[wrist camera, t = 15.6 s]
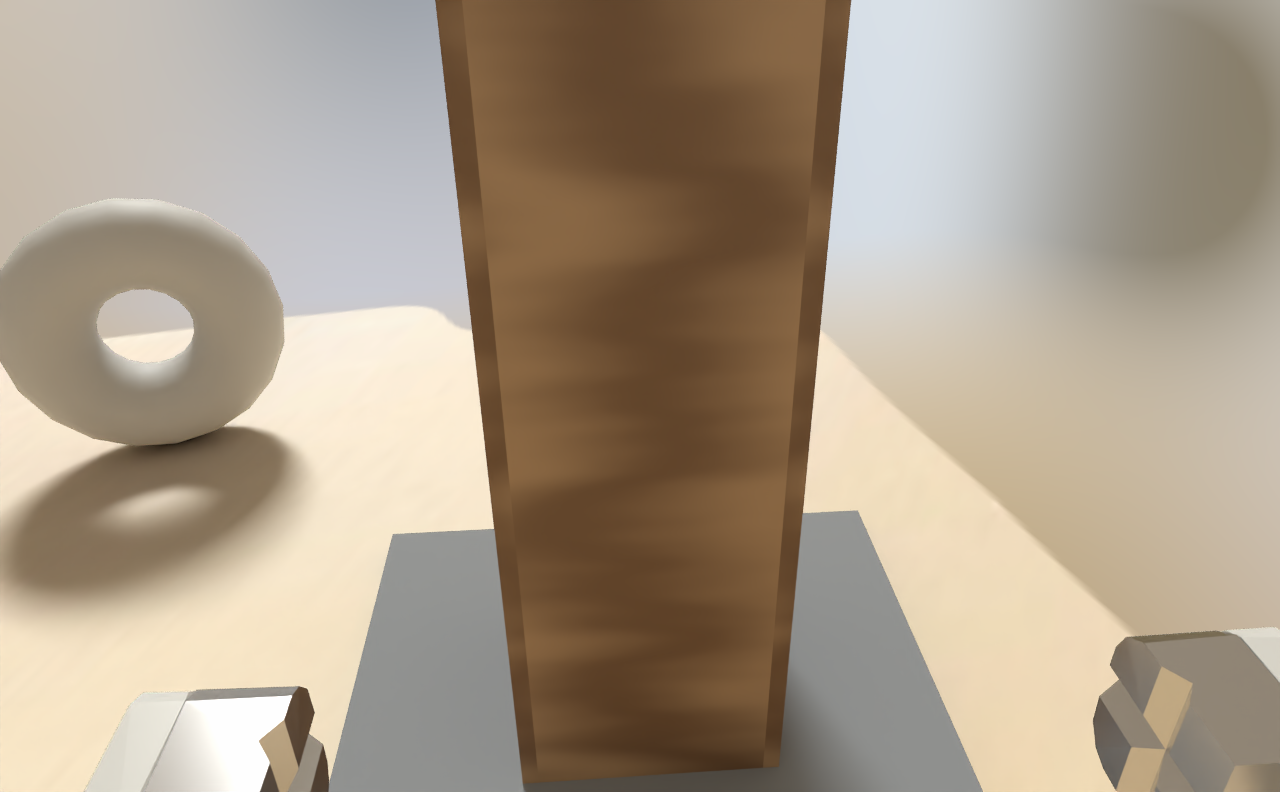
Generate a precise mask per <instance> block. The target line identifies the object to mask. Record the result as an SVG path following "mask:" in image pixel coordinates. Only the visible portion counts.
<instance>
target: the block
mask: <svg viewBox="0 0 1280 792" xmlns="http://www.w3.org/2000/svg"><path fill="white" fill-rule="evenodd" d="M435 1H436V10H437V19H438V28H439V37H440V46H441V55H442V64H443V73H444V82H445V91H446V99H447V109H448V117H449V127H450V136H451V145H452V153H453V163H454V172H455V181H456V189H457V198H458V208H459V216H460V226H461V234H462V244H463V252H464V261H465V270H466V279H467V288H468V297H469V306H470V315H471V324H472V333H473V342H474V351H475V360H476V369H477V378H478V387H479V396H480V405H481V414H482V423H483V432H484V441H485V450H486V459H487V468H488V477H489V486H490V495H491V504H492V513H493V522H494V531H495V540H496V549H497V558H498V567H499V576H500V584H501V593H502V602H503V611H504V620H505V629H506V638H507V647H508V656H509V665H510V674H511V683H512V692H513V701H514V710H515V719H516V728H517V737H518V746H519V755H520V764H521V773H522V782H523V784H525V783H540V782H555V781H571V780H586V779H601V778H616V777H631V776H646V775H661V774H677V773H692V772H707V771H722V770H737V769H752V768H767V767H779V759H780V749H781V738H782V728H783V717H784V706H785V696H786V685H787V675H788V664H789V653H790V643H791V632H792V622H793V611H794V600H795V590H796V579H797V569H798V558H799V547H800V537H801V526H802V515H803V505H804V494H805V484H806V473H807V462H808V452H809V441H810V431H811V420H812V409H813V399H814V388H815V378H816V367H817V356H818V346H819V335H820V325H821V314H822V303H823V291H824V281H825V272H826V260H827V250H828V240H829V228H830V218H831V208H832V197H833V187H834V176H835V165H836V154H837V143H838V134H839V122H840V112H841V102H842V91H843V80H844V70H845V59H846V47H847V38H848V28H849V17H850V5H851V0H435Z"/></svg>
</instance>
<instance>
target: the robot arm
mask: <svg viewBox="0 0 1280 792" xmlns="http://www.w3.org/2000/svg"><path fill="white" fill-rule="evenodd" d="M1110 666H1111V667H1112V669H1113V671H1114V672H1115V674H1116V675H1117V677H1118V678H1119V680H1118V681H1117V682H1116V683H1115V684H1113V685H1112V686H1111V687H1110V688H1109V689H1108V690H1106V691H1105V692H1104V693H1103V694H1102V695H1100V696H1099V700H1098V704H1097V707H1096V711H1095V715H1094V718H1093V725H1094V735H1095V745H1096V749H1097V752H1098V755H1099V758H1100V760H1101V763H1102V766H1103V769H1104V770H1105V772H1106V774H1107V776H1108V777H1109V779H1110V781H1111V783H1112V784H1113V786H1114V788H1115V790H1116V791H1117V792H1280V630H1279V629H1277V628H1275V627H1269V628H1255V629H1239V630H1226V631H1222V632H1219V631H1206V632H1191V633H1178V634H1163V635H1148V636H1134V637H1126V638H1125V639H1124V640H1123V641H1122V642H1121V643H1120V644H1119V645H1117V646H1116V649H1115V652H1114V655H1113V657H1112V660H1111V663H1110ZM314 713H315V712H314V709H313V706H312V703H311V699H310V696H309V693H308V690H307V689H306V688H303V687H299V686H296V687H266V688H237V689H207V690H196V691H175V692H146V693H142V694H141V695H140V696H139V697H138V698H137V699H135V700H134V701H133V702H132V703H131V704H130V705H129V706H128V708H127V710H126V712H125V714H124V715H123V717H122V719H121V721H120V723H119V725H118V727H117V729H116V731H115V733H114V735H113V736H112V738H111V740H110V742H109V744H108V746H107V748H106V750H105V752H104V754H103V756H102V758H101V759H100V761H99V763H98V765H97V767H96V769H95V771H94V773H93V775H92V777H91V779H90V780H89V782H88V784H87V786H86V788H85V790H84V792H329V777H328V764H327V759H326V755H325V750H324V746H323V744H322V743H321V742H319V741H318V740H317V739H315V738H314V737H313V736H311V735H310V734H309V731H310V727H311V724H312V720H313V717H314Z"/></svg>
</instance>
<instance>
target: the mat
mask: <svg viewBox="0 0 1280 792" xmlns="http://www.w3.org/2000/svg"><path fill="white" fill-rule="evenodd" d="M329 792H983V791H982V788H981V786H980V784H979V782H978V780H977V777H976V775H975V773H974V771H973V768H972V766H971V764H970V762H969V759H968V757H967V755H966V753H965V750H964V748H963V746H962V744H961V741H960V739H959V737H958V735H957V732H956V730H955V728H954V726H953V723H952V721H951V719H950V717H949V714H948V712H947V710H946V708H945V705H944V703H943V701H942V699H941V697H940V694H939V692H938V690H937V688H936V685H935V683H934V681H933V679H932V676H931V674H930V672H929V670H928V667H927V665H926V663H925V661H924V658H923V656H922V654H921V652H920V649H919V647H918V645H917V643H916V640H915V638H914V636H913V634H912V631H911V629H910V627H909V625H908V622H907V620H906V618H905V616H904V614H903V611H902V609H901V607H900V605H899V602H898V600H897V598H896V596H895V593H894V591H893V589H892V587H891V584H890V582H889V580H888V578H887V575H886V573H885V571H884V569H883V566H882V564H881V562H880V560H879V557H878V555H877V553H876V551H875V548H874V546H873V544H872V542H871V539H870V537H869V535H868V533H867V531H866V528H865V526H864V524H863V522H862V519H861V517H860V515H859V513H858V511H839V512H820V513H803V515H802V526H801V537H800V547H799V558H798V569H797V579H796V590H795V600H794V611H793V622H792V632H791V643H790V653H789V664H788V675H787V685H786V696H785V706H784V717H783V728H782V738H781V749H780V759H779V767H767V768H752V769H737V770H722V771H707V772H692V773H677V774H661V775H646V776H631V777H616V778H601V779H586V780H571V781H555V782H540V783H525V784H523V782H522V773H521V764H520V755H519V746H518V737H517V728H516V719H515V710H514V701H513V692H512V683H511V674H510V665H509V656H508V647H507V638H506V629H505V620H504V611H503V602H502V593H501V584H500V576H499V567H498V558H497V549H496V540H495V531H494V529H486V530H466V531H447V532H427V533H407V534H393V536H392V540H391V543H390V547H389V551H388V555H387V559H386V563H385V567H384V571H383V575H382V579H381V583H380V587H379V590H378V594H377V598H376V602H375V606H374V610H373V614H372V618H371V622H370V626H369V630H368V634H367V637H366V641H365V645H364V649H363V653H362V657H361V661H360V665H359V669H358V673H357V677H356V681H355V684H354V688H353V692H352V696H351V700H350V704H349V708H348V712H347V716H346V720H345V724H344V728H343V731H342V735H341V739H340V743H339V747H338V751H337V755H336V759H335V763H334V767H333V771H332V775H331V778H330V782H329Z"/></svg>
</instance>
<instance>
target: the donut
mask: <svg viewBox="0 0 1280 792" xmlns="http://www.w3.org/2000/svg"><path fill="white" fill-rule="evenodd" d="M133 289H135V290H136V289H137V290H138V289H150V290H154V291H158V292H161V293H165V294H167V295H169V296H171V297H173V298H174V299H176V300H178V301H179V302H180V303H181V304H182V305H183V306H184V307H185V308H186V309H187V310H188V311H189V312H190V314H191V316H192V319H193V322H194V335H193V338H192V341H191V343H190V344H189V345H188V347H187V348H186V349H185V350H184V351H183V352H181V353H180V354H178V355H177V356H175V357H174V358H171V359H168V360H165V361H161V362H152V363H142V362H137V361H133V360H128V359H126V358H124V357H122V356H120V355H118V354H117V353H115V352H113V351H112V350H111V349H110V348H109V347H108V346H107V345H106V344H105V343H104V342H103V340H102V338H101V336H100V335H99V333H98V330H97V324H96V322H97V318H98V314H99V310H100V308H101V307H102V306H103V305H104V303H105V302H106V301H107V300H109V299H111V298H112V297H114V296H115V295H116V294H119V293H123V292H126V291H129V290H133ZM283 345H284V320H283V305H282V302H281V300H280V297H279V295H278V293H277V290H276V288H275V285H274V283H273V280H272V278H271V275H270V273H269V271H268V269H267V268H266V267H265V265H264V264H263V263H262V262H261V261H260V260H259V259H258V257H257V256H256V255H255V254H254V253H253V252H252V250H251V249H250V248H249V247H248V246H247V245H246V244H245V242H244V241H243V240H242V239H241V238H240V237H239V236H238V235H236V234H235V233H233V232H231V231H230V230H228V229H227V228H225V227H223V226H222V225H221V224H219V223H217V222H216V221H214V220H213V219H211V218H209V217H208V216H206V215H205V214H203V213H201V212H198V211H194V210H191V209H188V208H184V207H180V206H178V205H174V204H171V203H168V202H164V201H161V200H156V199H113V198H110V199H106V200H102V201H98V202H95V203H91V204H87V205H83V206H80V207H76V208H72V209H69V210H65V211H63V212H62V213H60V214H59V215H57V216H56V217H54V218H53V219H51V220H50V221H48V222H46V223H45V224H43V225H42V226H40V227H39V228H38V229H36V230H34V231H33V232H31V233H30V234H28V235H26V236H25V237H24V238H23V239H22V240H21V242H20V243H19V245H18V246H17V247H16V249H15V250H14V251H13V253H12V254H11V256H10V257H9V258H8V260H7V261H6V263H5V264H4V265H3V267H2V268H1V270H0V362H1V363H2V365H3V367H4V368H5V370H6V372H7V373H8V375H9V376H10V378H11V380H12V381H13V383H14V385H15V386H16V388H17V389H18V391H19V392H20V393H21V394H22V395H24V396H25V397H26V398H27V399H28V400H29V401H31V402H32V403H33V404H34V405H35V406H37V407H38V408H39V409H40V410H41V411H42V412H44V413H45V414H46V415H47V416H48V417H50V418H51V419H52V420H54V421H56V422H58V423H60V424H62V425H65V426H67V427H69V428H71V429H73V430H76V431H78V432H80V433H82V434H84V435H87V436H89V437H91V438H93V439H98V440H104V441H110V442H115V443H121V444H127V445H132V446H144V445H158V444H173V443H179V442H182V441H185V440H188V439H191V438H194V437H197V436H200V435H203V434H206V433H209V432H212V431H215V430H218V429H219V428H221V427H222V426H224V425H225V424H227V423H228V422H230V421H231V420H233V419H234V418H236V417H237V416H239V415H240V414H242V413H243V412H245V411H246V410H248V409H249V408H250V407H251V406H252V404H253V403H254V402H255V401H256V399H257V398H258V397H259V395H260V394H261V393H262V392H263V390H264V389H265V388H266V387H267V385H268V384H269V383H270V381H271V380H272V378H273V375H274V372H275V369H276V366H277V363H278V360H279V357H280V354H281V351H282V348H283Z"/></svg>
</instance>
